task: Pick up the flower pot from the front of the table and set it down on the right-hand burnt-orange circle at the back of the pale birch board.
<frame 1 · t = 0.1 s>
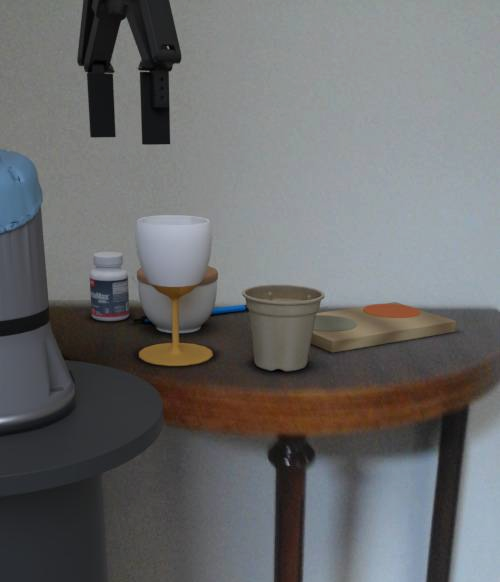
hand: (128, 141, 87), 25 cm above the table, tool pointing down, fingers open, 13 cm apart
pen: (194, 315, 119), on the table
cup: (175, 356, 101), on the table
trinket box: (178, 329, 113), on the table
pill bottle: (110, 318, 118), on the table
board: (366, 330, 113), on the table
flower pot: (280, 366, 98), on the table
target circle: (391, 310, 118), resting on board
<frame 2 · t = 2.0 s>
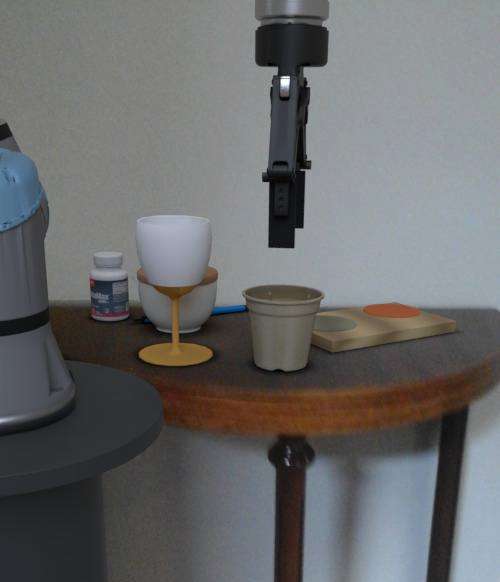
hand: (287, 237, 93), 15 cm above the table, tool pointing down, fingers open, 13 cm apart
nothing on the table moved.
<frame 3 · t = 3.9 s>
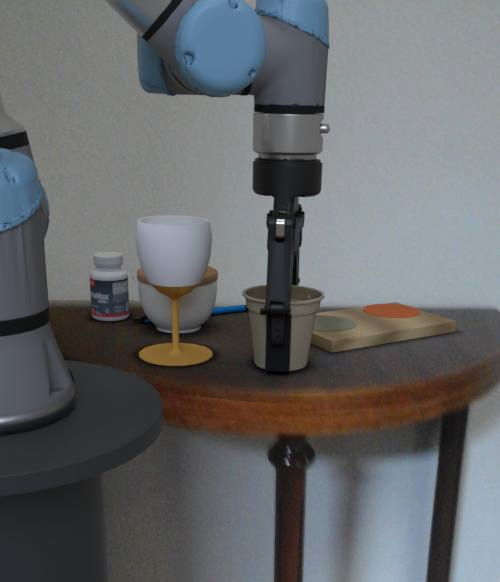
hand: (281, 358, 98), 1 cm above the table, tool pointing down, fingers closed on flower pot, 8 cm apart
flower pot: (280, 366, 98), on the table, touching gripper
everything else where it was.
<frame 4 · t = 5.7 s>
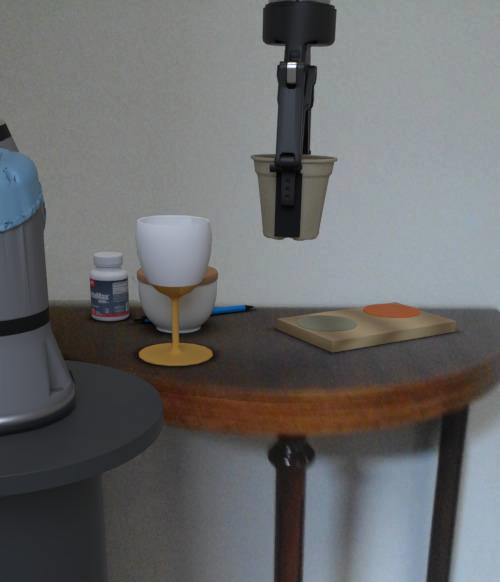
hand: (291, 230, 93), 16 cm above the table, tool pointing down, fingers closed on flower pot, 8 cm apart
flower pot: (290, 238, 93), point 15 cm above the table, touching gripper
everything else where it was.
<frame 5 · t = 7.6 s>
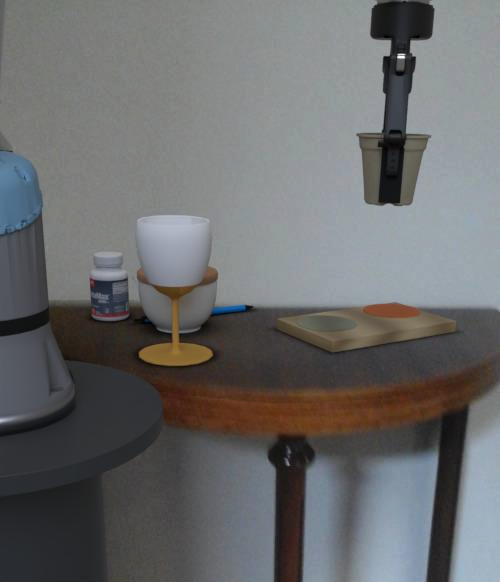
hand: (388, 198, 109), 17 cm above the table, tool pointing down, fingers closed on flower pot, 8 cm apart
flower pot: (388, 205, 109), point 16 cm above the table, touching gripper
everything else where it was.
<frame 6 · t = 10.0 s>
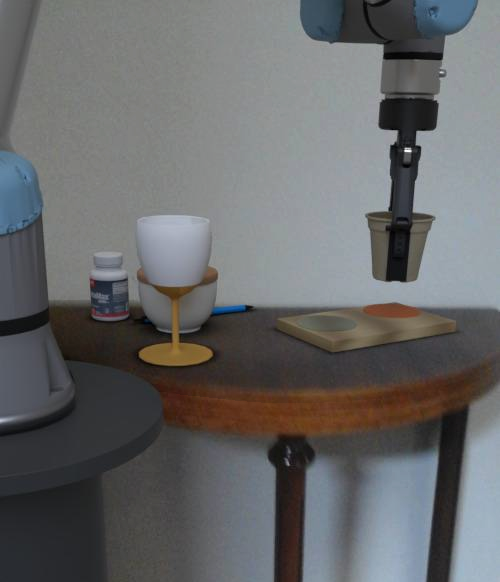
hand: (394, 273, 115), 7 cm above the table, tool pointing down, fingers closed on flower pot, 8 cm apart
flower pot: (394, 280, 116), point 6 cm above the table, touching gripper
everything else where it was.
when the fingers open (2 cm above the table, at t = 11.6 s): flower pot stays where it is, resting on target circle.
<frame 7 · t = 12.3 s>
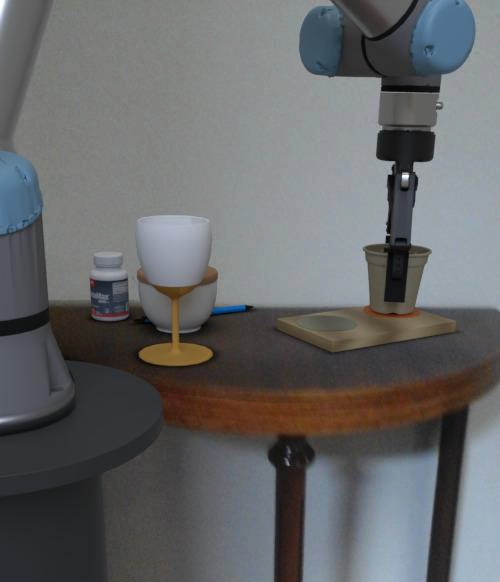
hand: (392, 291, 116), 4 cm above the table, tool pointing down, fingers open, 13 cm apart
flower pot: (391, 311, 118), point 1 cm above the table, touching target circle
everything else where it was.
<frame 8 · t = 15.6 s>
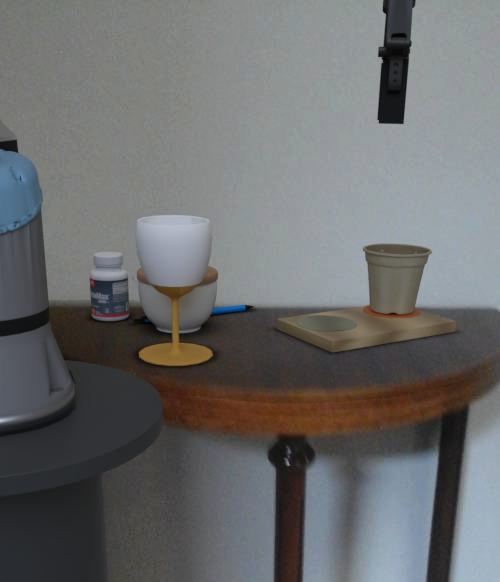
hand: (389, 122, 97), 27 cm above the table, tool pointing down, fingers open, 13 cm apart
nothing on the table moved.
at the end: flower pot 0.0 cm off-centre on the target circle, point 0.0 cm above the target circle's base; flower pot tilted 0° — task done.
